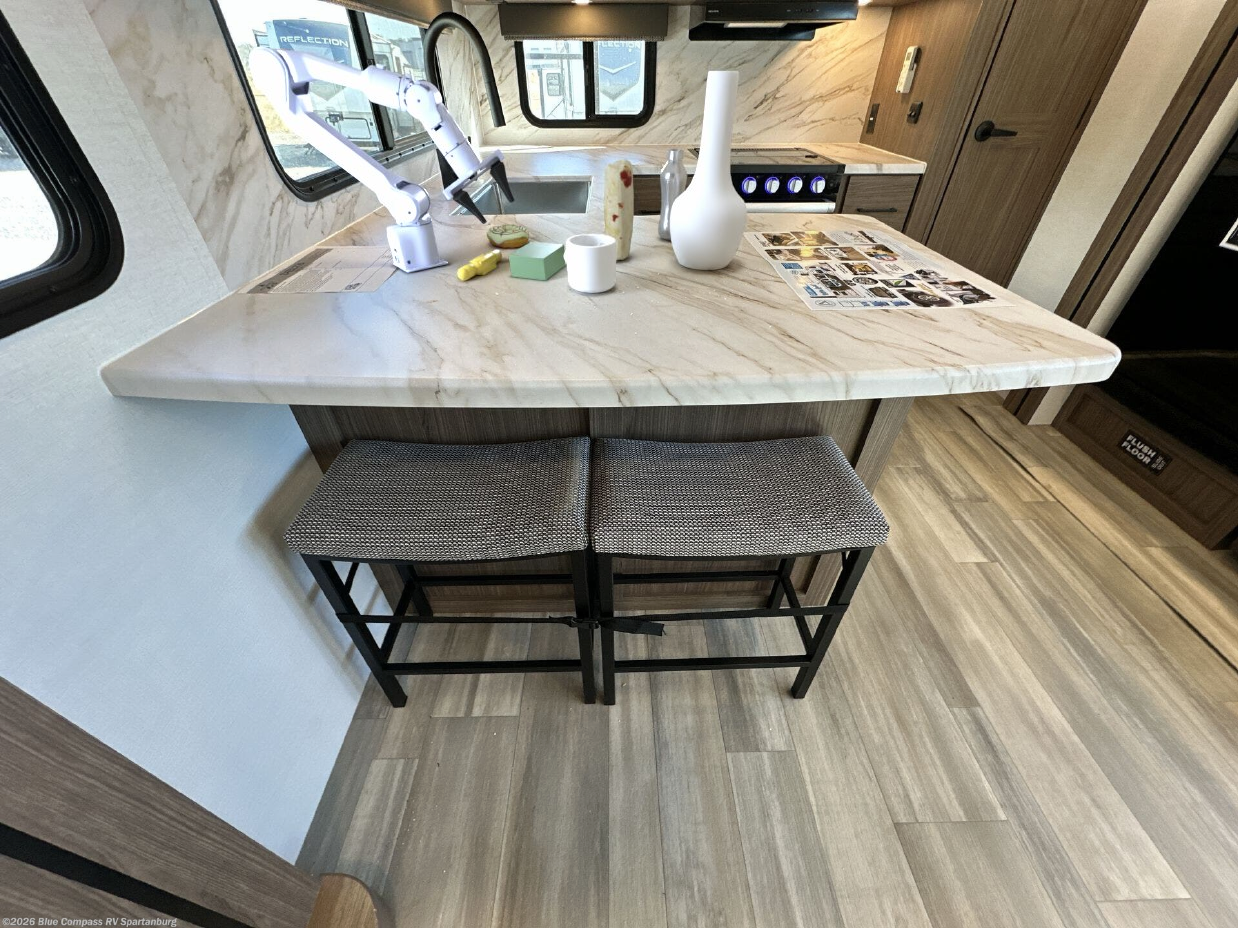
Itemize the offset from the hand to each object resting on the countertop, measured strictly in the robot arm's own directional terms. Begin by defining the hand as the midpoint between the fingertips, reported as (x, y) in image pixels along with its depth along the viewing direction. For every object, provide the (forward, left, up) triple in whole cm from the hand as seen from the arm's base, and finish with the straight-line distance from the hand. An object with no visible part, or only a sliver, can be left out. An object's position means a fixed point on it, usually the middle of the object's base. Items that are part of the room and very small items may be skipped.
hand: (498, 212), depth 108 cm
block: (+3, -9, -11) cm, 15 cm away
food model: (+23, -13, -11) cm, 29 cm away
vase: (+35, -29, -11) cm, 47 cm away
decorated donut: (+10, +14, -11) cm, 20 cm away
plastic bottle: (+44, -10, -11) cm, 46 cm away
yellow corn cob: (-6, -1, -11) cm, 12 cm away
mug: (+6, -24, -11) cm, 27 cm away
